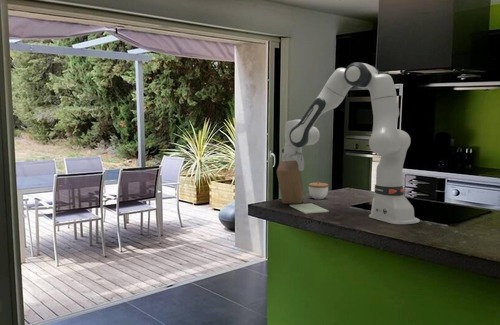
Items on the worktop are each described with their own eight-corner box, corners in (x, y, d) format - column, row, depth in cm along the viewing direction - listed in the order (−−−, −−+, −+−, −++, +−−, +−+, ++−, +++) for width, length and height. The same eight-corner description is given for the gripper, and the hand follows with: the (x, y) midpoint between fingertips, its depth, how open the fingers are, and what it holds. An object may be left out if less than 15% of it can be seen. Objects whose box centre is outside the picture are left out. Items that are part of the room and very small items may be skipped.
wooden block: (282, 204, 230) (275, 171, 221) (285, 193, 239) (279, 160, 229) (301, 204, 228) (296, 170, 218) (304, 192, 236) (299, 159, 226)
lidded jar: (332, 198, 247) (332, 181, 246) (319, 201, 240) (320, 183, 239) (316, 195, 255) (317, 179, 254) (304, 198, 248) (304, 181, 246)
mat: (328, 211, 214) (328, 210, 213) (305, 213, 210) (305, 212, 210) (311, 204, 230) (311, 203, 230) (289, 206, 227) (289, 204, 227)
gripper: (307, 152, 224) (307, 180, 226) (290, 149, 243) (290, 174, 245) (296, 152, 222) (295, 180, 224) (280, 149, 241) (279, 175, 243)
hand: (292, 177), depth 234 cm, fingers closed
